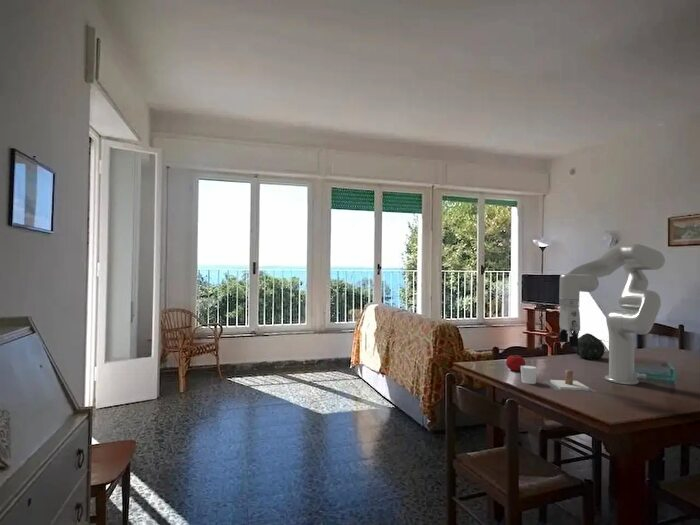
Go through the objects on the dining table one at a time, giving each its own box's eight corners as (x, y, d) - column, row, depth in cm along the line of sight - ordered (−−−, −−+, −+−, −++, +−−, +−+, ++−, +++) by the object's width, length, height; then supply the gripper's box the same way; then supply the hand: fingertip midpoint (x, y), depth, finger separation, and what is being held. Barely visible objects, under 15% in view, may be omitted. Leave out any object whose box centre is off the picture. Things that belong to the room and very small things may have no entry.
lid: (576, 383, 179) (576, 368, 179) (588, 390, 168) (588, 374, 168) (550, 382, 180) (550, 367, 180) (560, 389, 169) (560, 373, 169)
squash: (597, 346, 242) (581, 326, 242) (615, 352, 227) (598, 331, 227) (579, 362, 242) (563, 342, 241) (595, 369, 227) (578, 348, 226)
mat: (581, 383, 180) (581, 382, 180) (597, 392, 166) (597, 391, 166) (543, 381, 182) (543, 380, 182) (555, 391, 168) (555, 390, 168)
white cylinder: (539, 385, 175) (539, 369, 176) (521, 384, 177) (522, 368, 177) (535, 381, 182) (535, 365, 182) (518, 380, 184) (518, 364, 184)
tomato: (514, 367, 208) (515, 351, 208) (529, 371, 200) (529, 355, 200) (501, 369, 204) (502, 352, 205) (516, 373, 196) (516, 356, 197)
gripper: (588, 305, 166) (587, 348, 165) (569, 302, 183) (569, 341, 182) (568, 304, 166) (567, 347, 166) (552, 301, 184) (551, 340, 183)
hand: (568, 344), depth 174 cm, fingers open, 9 cm apart
